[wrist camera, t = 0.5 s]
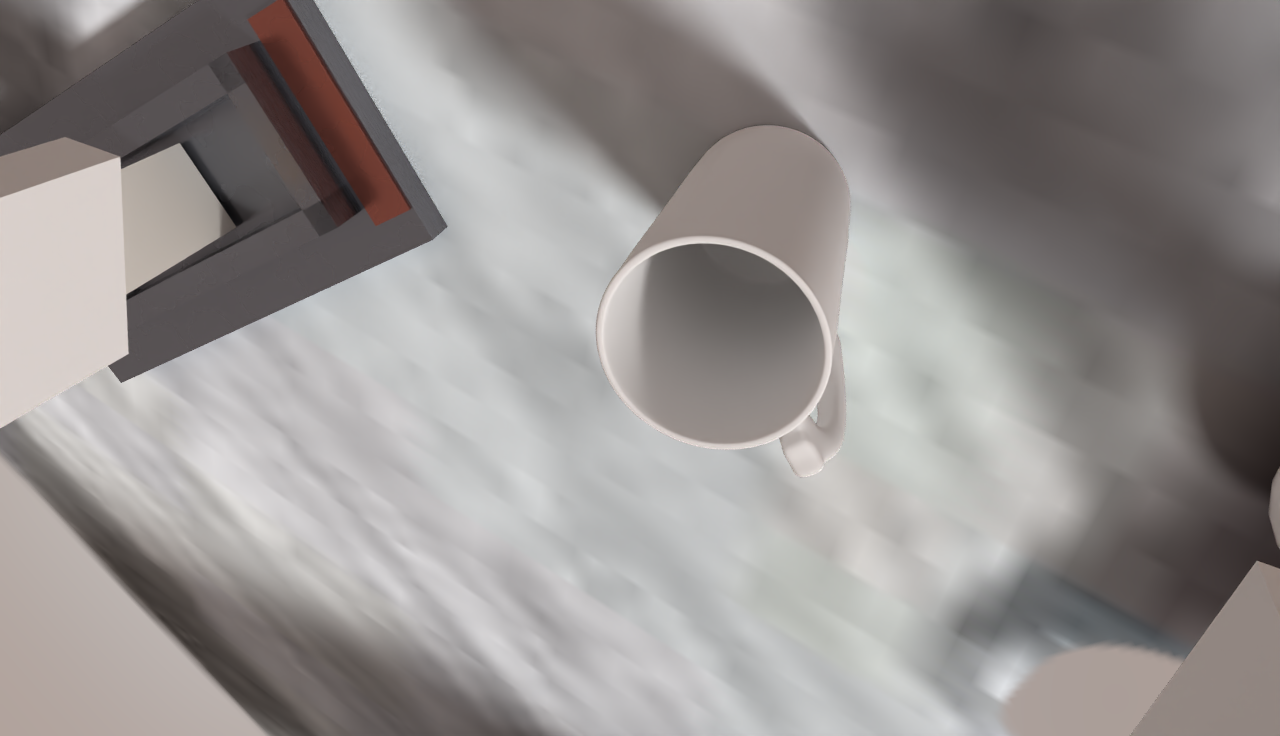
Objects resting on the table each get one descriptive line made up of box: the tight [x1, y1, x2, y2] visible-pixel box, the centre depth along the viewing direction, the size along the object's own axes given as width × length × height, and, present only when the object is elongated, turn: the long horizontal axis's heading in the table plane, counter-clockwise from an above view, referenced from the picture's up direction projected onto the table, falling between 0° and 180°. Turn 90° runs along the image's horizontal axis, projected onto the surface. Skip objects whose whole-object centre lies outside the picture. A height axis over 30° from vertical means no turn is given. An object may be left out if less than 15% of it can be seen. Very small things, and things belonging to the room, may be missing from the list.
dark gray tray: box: [0, 0, 447, 383], centre depth 43 cm, size 20×12×4 cm, turn 118°
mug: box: [596, 125, 851, 477], centre depth 33 cm, size 10×7×12 cm, turn 34°
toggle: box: [121, 143, 236, 294], centre depth 39 cm, size 4×4×9 cm
